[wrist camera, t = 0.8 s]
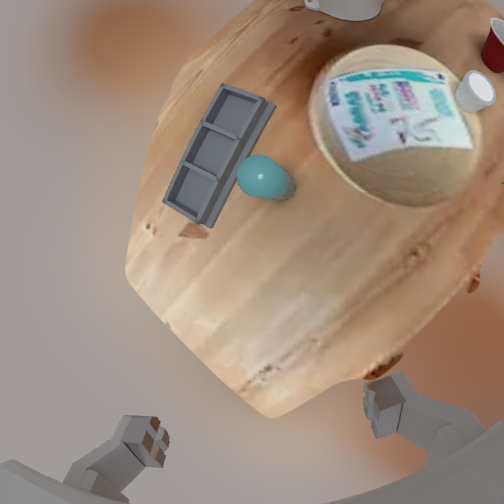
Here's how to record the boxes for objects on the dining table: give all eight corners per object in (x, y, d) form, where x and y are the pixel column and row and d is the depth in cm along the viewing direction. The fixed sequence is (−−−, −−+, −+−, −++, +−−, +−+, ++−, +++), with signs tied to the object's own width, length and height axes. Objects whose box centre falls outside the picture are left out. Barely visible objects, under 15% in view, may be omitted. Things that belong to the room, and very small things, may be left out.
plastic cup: (498, 47, 24) (519, 25, 13) (514, 87, 26) (540, 68, 14) (464, 36, 27) (482, 9, 16) (481, 77, 29) (506, 53, 17)
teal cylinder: (263, 176, 46) (232, 162, 31) (290, 167, 44) (271, 149, 30) (271, 204, 46) (243, 202, 32) (299, 196, 44) (283, 189, 30)
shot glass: (449, 102, 33) (463, 89, 27) (455, 77, 31) (467, 62, 25) (477, 122, 32) (494, 112, 25) (482, 96, 30) (497, 84, 23)
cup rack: (225, 87, 45) (217, 79, 41) (276, 106, 43) (271, 98, 39) (168, 201, 51) (156, 201, 48) (212, 228, 50) (202, 229, 46)
